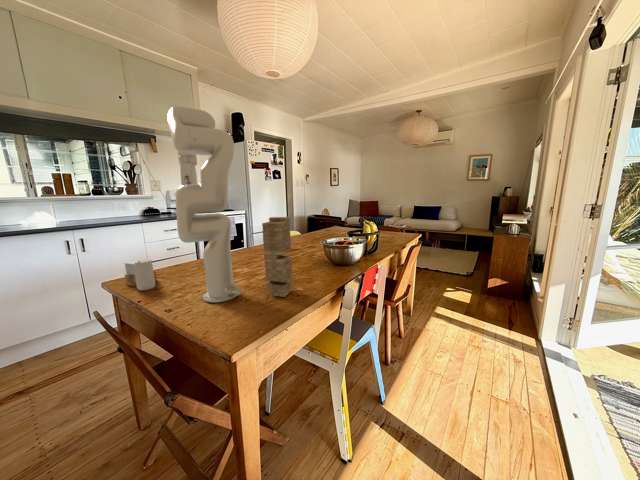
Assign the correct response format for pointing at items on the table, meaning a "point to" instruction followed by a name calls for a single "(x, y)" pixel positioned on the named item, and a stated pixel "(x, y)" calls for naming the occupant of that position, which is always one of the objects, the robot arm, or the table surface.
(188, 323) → the table surface
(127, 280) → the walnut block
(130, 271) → the pale gray block
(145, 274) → the beverage can
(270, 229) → the block tower
